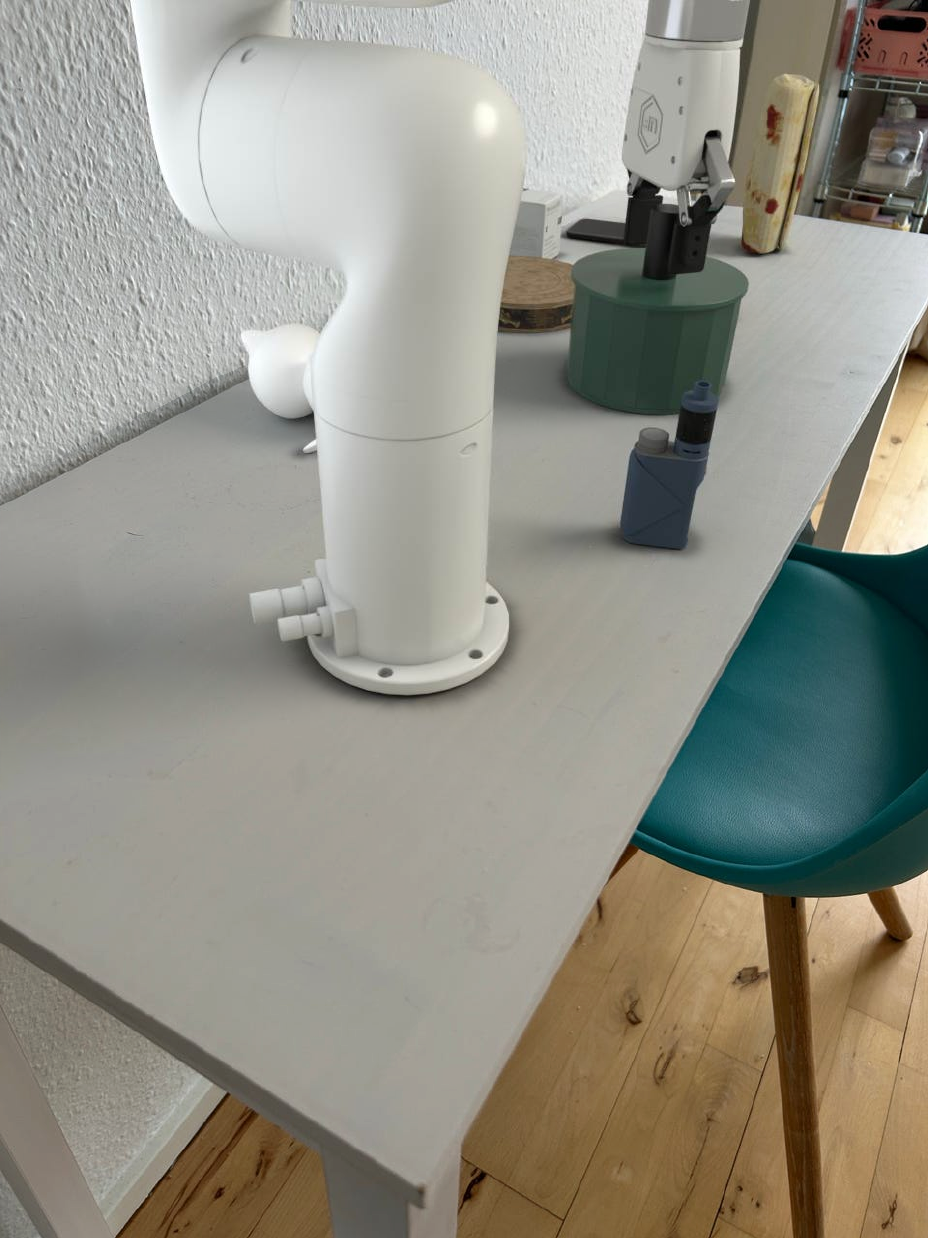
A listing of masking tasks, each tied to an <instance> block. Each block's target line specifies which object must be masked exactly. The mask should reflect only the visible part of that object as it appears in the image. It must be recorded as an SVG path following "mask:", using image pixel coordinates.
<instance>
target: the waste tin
mask: <svg viewBox="0 0 928 1238" xmlns="http://www.w3.org/2000/svg"><path fill="white" fill-rule="evenodd" d="M742 299H743V298H742ZM742 299H740V300H739V301H737V302H735V303H733V304H730V305H727V306H724V307H719V308H715V309H708V310H700V311H681V312H677V311H655V310H646V309H639V308H632V307H627V306H623V305H618V304H614V303H611V302H607V301H604V300H601V299H598V298H596V297H594V296H591V295H589V294H587V293H585V292H584V291H582V290H581V289H579V288H578V287H577V286H576V285H575V287H574V298H573V309H572V320H571V327H570V331H569V344H568V355H567V364H566V366H567V367H566V368H567V372H566V373H567V374H566V375H567V376H566V378H567V382H568V384H569V386H570V387H571V388H572V389H573V390H574V391H575V392H576V393H577V394H578V395H580V396H581V397H583V398H584V399H586V400H588V401H590V402H592V403H594V404H597V405H600V406H602V407H604V408H605V407H606V408H609V409H611V410H612V409H613V410H616V411H621V412H627V413H632V414H633V413H634V414H641V415H655V416H656V415H657V416H658V415H676V414H677V415H679V413H680V407H681V401H682V396H683V394H684V393H685V392H687V391H691V390H694V385H695V382H697V381H706V382H709V383H711V390H710V392H711V393H713V394H715V395H716V396H717V397H718V398H720V397H721V394H722V391H723V388H724V387H725V385H726V379H727V374H728V369H729V364H730V358H731V354H732V351H733V350H732V349H733V345H734V344H733V343H734V339H735V334H736V329H737V324H738V320H739V314H740V310H741V304H742Z"/></svg>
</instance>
